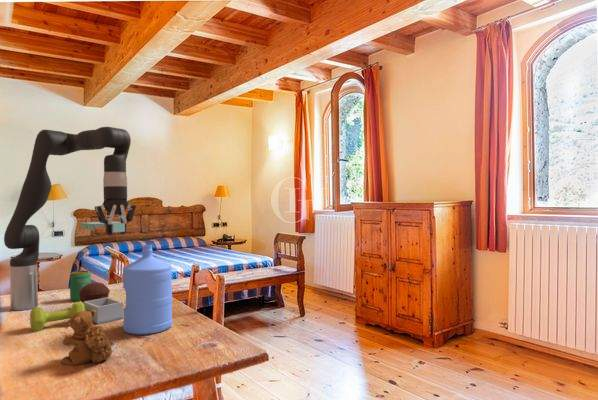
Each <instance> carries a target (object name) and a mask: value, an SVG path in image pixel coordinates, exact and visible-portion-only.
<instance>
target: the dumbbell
mask: <svg viewBox="0 0 598 400" xmlns="http://www.w3.org/2000/svg"><path fill="white" fill-rule="evenodd" d="M81 311H85V306H84V304H83V303H82V302H73V303H72V306H71V308H69V309H67V310H58V311H57V310H56V311H52V312H46V311H45V310H44V309H43V308H42V307H35V308H31V310H30V314H29V324H30V327H31V330H32V331H33V332H39V331H42V330H43V329H44V328H45V324H47V323H48V322H57V321H64V320H68V319H69V320H70V318H71V317H72V316H73V315H74V314H76V313H77V312H81Z"/></svg>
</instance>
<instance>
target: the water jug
mask: <svg viewBox="0 0 598 400" xmlns="http://www.w3.org/2000/svg"><path fill="white" fill-rule="evenodd" d="M141 246H142V250H141V251H142V256H141V257H140V258H138V259H136V260H135V261H133V262H131V263H129V264H127V265H126V266H124V267H123V269H122V288H123V290H124V291H125V307H123V323H122V327H123V330H124V332H125V333H127V334H131V335H137V336H139V335H141V336H142V335H151V334H158V333H162V332H164V331H166V330H169V328H171V327H172V325H173V289H172V286H173V283H172V279H173V269H172V265H171V264H170V263H168V262H166V261H164V260H161V259H160V258H156V257H154V255H153V244H143V245H141Z"/></svg>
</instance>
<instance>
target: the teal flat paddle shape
mask: <svg viewBox="0 0 598 400" xmlns="http://www.w3.org/2000/svg"><path fill="white" fill-rule="evenodd" d="M79 225H80V226H81V229H82V230H83V229H84V230H91V231H93V230H96V227H106V225H105V224H104V223H100V222H99V221H90V222H80V223H79ZM111 225H112V233H120V232H125V223H121V222H120V221H112V222H111Z"/></svg>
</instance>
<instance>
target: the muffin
mask: <svg viewBox="0 0 598 400" xmlns="http://www.w3.org/2000/svg"><path fill="white" fill-rule="evenodd" d="M110 292H111V290H110V289H109V287H108V286H107V285H106V284H104V283H102V282H98V281H95V282H91V283H89V284H87V285H86V286H84V287H83V288H82V289H81V291H80V292H79V295H80V301H81V302H82V303H83V304H84V302H85V301H90V300H96V299H101V298H106V297H109V295H110Z"/></svg>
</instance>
